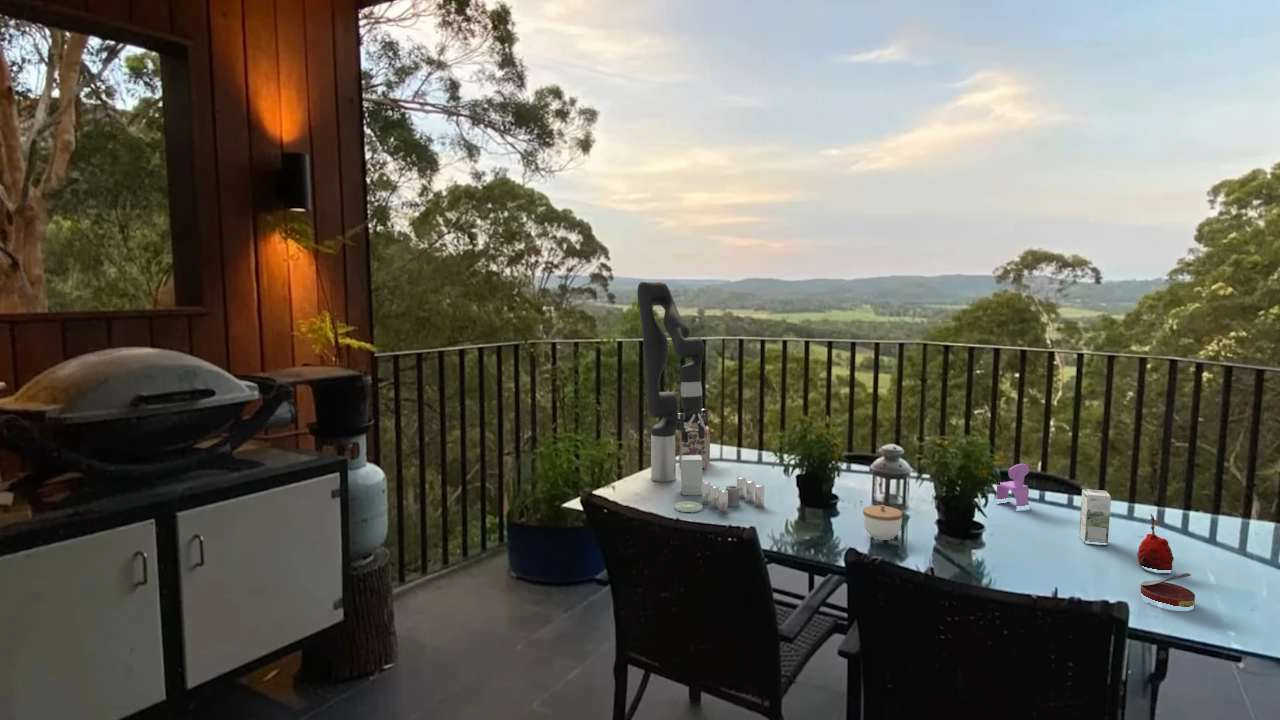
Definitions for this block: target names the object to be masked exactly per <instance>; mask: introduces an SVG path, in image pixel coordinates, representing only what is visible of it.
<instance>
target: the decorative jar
mask: <svg viewBox="0 0 1280 720" xmlns="http://www.w3.org/2000/svg"><path fill="white" fill-rule="evenodd" d="M685 427H686V426H685ZM685 427H684V428H685ZM687 432H688V442H686V443H685V442H682V436H681V431H680V432H679V435H678V437H679V451H678V452H679V458H678V460H679V468H680V469H681V456H684V455H701V457H702V468H704V469H703V470H707V468H708V469H709V466H710V459H711V456H710V455H711V439H710V438H711V434H710V433H711V429H710V427H709V426H705V428H704V433H705V436H704V439H699V438H698V426H697V424H695V423H694V424H691V426H690V427H689V428H688V430H687Z"/></svg>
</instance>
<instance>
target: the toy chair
mask: <svg viewBox="0 0 1280 720" xmlns="http://www.w3.org/2000/svg"><path fill="white" fill-rule="evenodd" d="M1007 472H1008V478H1010V479H1011V480H1009V481H1003V482H1000V485H999V486H997V485H996V486H997V491H998V494H997V493H996V498H997V499H1004V498H1005V499H1006V498H1009V499H1010V496H1009V491H1011V492H1012V493H1013V495H1014V498H1015V503H1016V504H1015V507H1016V506H1025V505H1030V502H1029V493H1030V491H1029V486H1028V485H1027V484H1026V485H1025V484H1024V482H1025V476H1027V475H1028V474H1029V473H1030V467H1029V465H1028V464H1026V463H1018V464H1015V465H1012V466H1011V467H1010V468H1009V469H1008V471H1007Z"/></svg>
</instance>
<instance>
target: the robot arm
mask: <svg viewBox="0 0 1280 720" xmlns="http://www.w3.org/2000/svg"><path fill="white" fill-rule="evenodd" d="M636 293H637V295H636V296H637V303H638V308H639V309H638V310H639V313H640V314H639V315H640V321H641V329H642V342H643V343H642V344H643V356H644V367H645V378H646V379H645V382H646V383H645V388H646V389H645V399H646V400H645V401H646V402H645V403H646V410H647V413H648V415H649V417H652V418H661V420H659V422H658V423H656V424H654V425H652V426H651V428H650V432H651V434H650V437H651V438H650V442H651V443H650V444H651V447H650V448H651V449H650V450H651V453H650V471H651V472H650V476H651V480H652V481H653V482H659V483H665V482H666V483H668V482H673V481H676V479H677V476H676V475H677V472H676V471H677V466H676V463H677V462H676V461H677V457H676V456H677V455H676V449H677V448H676V446H677V445H676V442H677V441H676V440H677V439H676V434H677V433H676V431H681V436H682V442H685V443H686V442H688V432H687V430H688V428H689V427H690V426H691V424H694V423H695V424H697V426H698V438H699V439H704V436H705V433H704V428H705V426H707V427H709V415H708V408H707V409H706V408H703V406H704V405H703V386H702V380H701V379H702V377H701V375H702V374H701V370H702V369H701V368H702V364H703V360H704V356H705V355H704V354H705V343H704V341H703V340H702V339H701V338H700V337H689V336H690V334H691V333H690V328H689V327H688V325H687V324H686V323H685V321H684V319H683V318H682V316H681V314H680V313H679V311H678V308H677V306H676V303H675V301H674V298H673V296H672V293H671V290H670V288H669V287H668V285H667V284H666V283H665V282H664V281H662V280H661V281H660V280H644V281H643V280H642V281H640V282H639V284H638V286H637V292H636ZM654 306H661V307H662V308H663V309H664V314H663V326H664V328H665V330H666V332H667V334H668V335H669V336H670V338H671V342H672V346H673V351H674V354H675V355H676V356H677V357H679V359H690V360H689V363H687V364H684V365H682V366H680V388H679V389H680V406H681V408H682V412H678V411H679V403H678V397H677V395H676V394H675V392H673V391H660V379H661V375H662V373H663V371H664V369H665V367H666V365H667V363H668V360H669V355H670V354H669V353H670V352H669V344H668V343H669V342H668V338H667V336H666V334H665V332H664V330H663V329H662V328H661V326H660V325H659V324H658V322H657V321H656V318H655V315H654V312H653V307H654ZM685 426H686V427H685ZM684 427H685V428H684Z"/></svg>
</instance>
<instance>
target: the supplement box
mask: <svg viewBox="0 0 1280 720" xmlns="http://www.w3.org/2000/svg"><path fill="white" fill-rule="evenodd" d="M702 482H703V469H702V457H701V455H684V456H681V468H680V492H681V496H701V483H702Z"/></svg>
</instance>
